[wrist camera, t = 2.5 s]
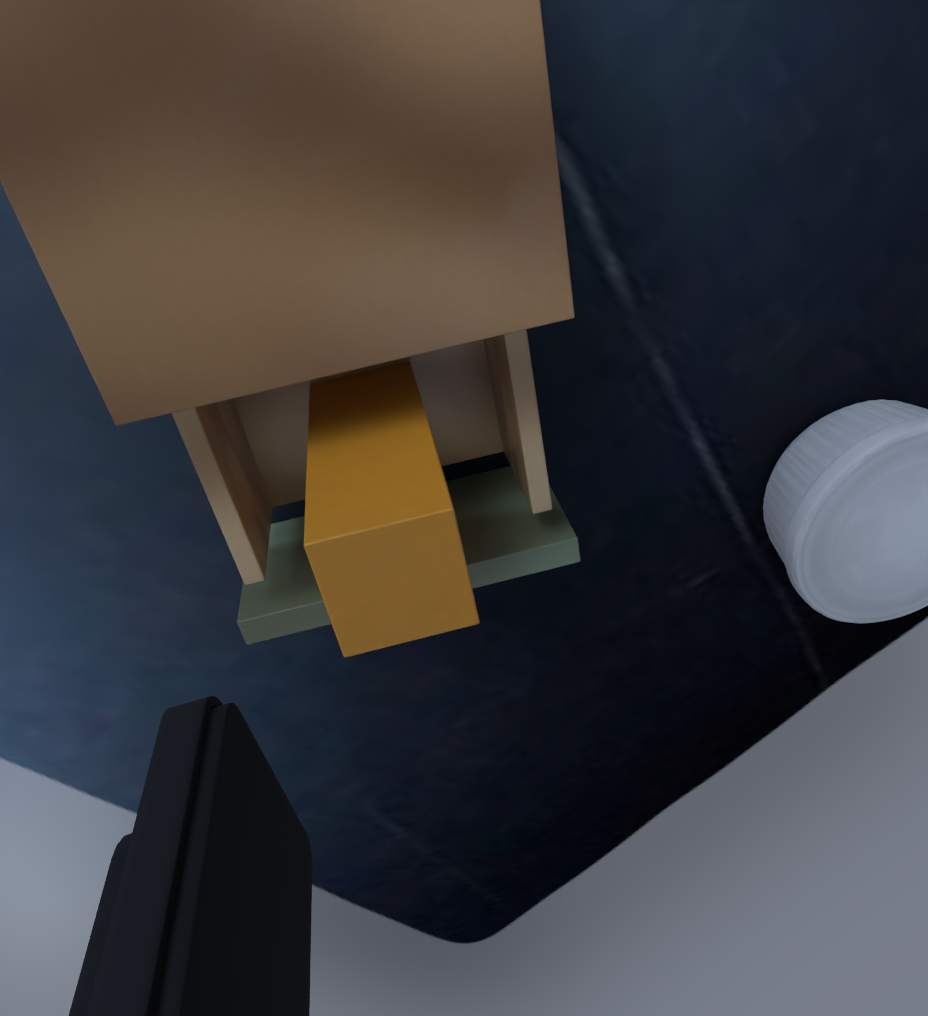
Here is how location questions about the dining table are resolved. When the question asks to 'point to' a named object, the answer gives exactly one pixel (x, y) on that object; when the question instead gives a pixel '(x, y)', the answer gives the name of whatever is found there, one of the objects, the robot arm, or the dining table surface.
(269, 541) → the drawer
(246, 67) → the cabinet
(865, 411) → the ramekin
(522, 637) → the dining table surface
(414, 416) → the block
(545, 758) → the dining table surface
